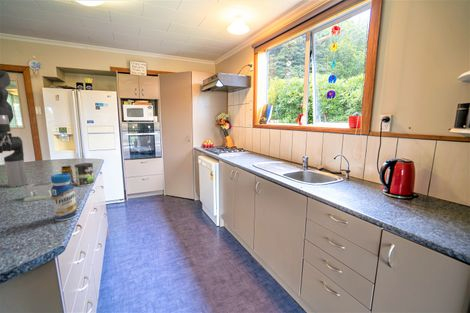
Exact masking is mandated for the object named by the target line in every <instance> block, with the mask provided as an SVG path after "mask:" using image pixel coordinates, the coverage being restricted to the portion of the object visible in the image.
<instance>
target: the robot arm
mask: <svg viewBox="0 0 470 313" xmlns="http://www.w3.org/2000/svg"><path fill="white" fill-rule="evenodd" d="M10 84H11V76H10V74H9V73H8V71H5V70H0V154H3V152H12V153H10V154H9V155H6V156H4V157H3V162H4V166H5V171H6V177H7V182H8V183H7V184H8V187H9V188H15V187H16V186H18V187H23V186H26V184H27V185H28V184H29V181H28V176H27V170H26V164H25V159H24V156H25V155H24V144H23V140H22V139H21V137H19V136H13V135H12V133H11V131H12V130H11V125H10V124H11V122H12V121H13V119H14V112H13V107H12V104H10V102H8V98H9V91H8V89H7V88H8V87H9V86H10ZM22 185H23V186H22Z"/></svg>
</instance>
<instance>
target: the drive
mask: <svg viewBox="0 0 470 313" xmlns="http://www.w3.org/2000/svg"><path fill="white" fill-rule="evenodd" d="M53 185H54V184H52V182H44V183H43V182H42V183H32V184H31V183H30V184H29V185H28V186H26V189H27V194H28V195H27V196H28V197H30V192H33V196H43V195H48V190H50V191H51V188H52V186H53ZM51 195H52V193H51Z"/></svg>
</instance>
